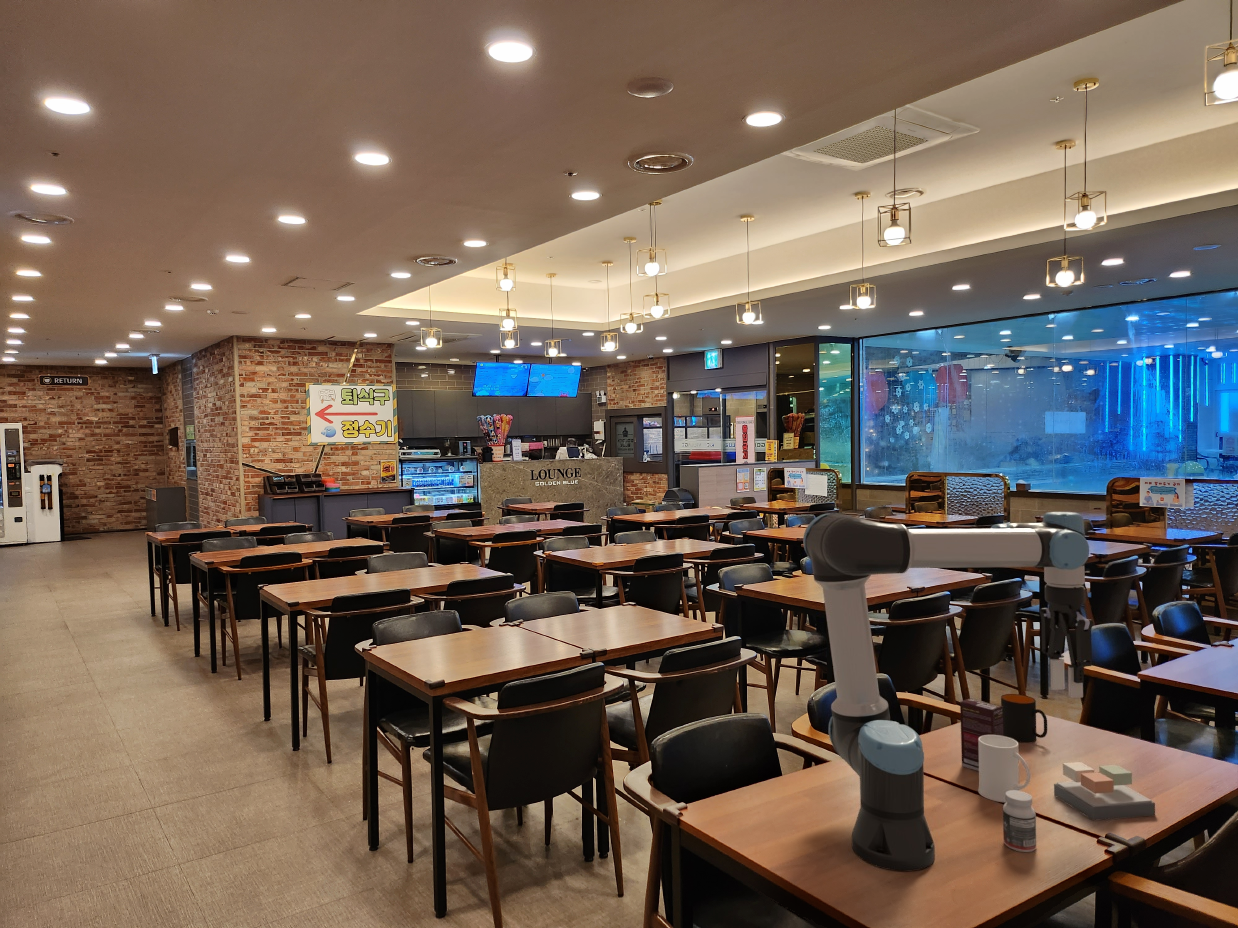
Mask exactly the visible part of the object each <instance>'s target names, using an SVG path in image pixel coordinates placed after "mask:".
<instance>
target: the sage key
mask: <svg viewBox="0 0 1238 928" xmlns="http://www.w3.org/2000/svg"><path fill="white" fill-rule="evenodd" d="M1098 769H1099V773H1101V774H1103V775H1105V776H1107V777H1109V778H1110V779H1112V780H1114V786H1117V785H1125V786H1128V785H1132V784H1133V773H1132V772H1131V771H1130V770H1128V769H1125V768H1124V767H1122V766H1120V765H1118V764H1113V765H1112V764H1111V765H1099V767H1098Z"/></svg>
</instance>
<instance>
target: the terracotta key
mask: <svg viewBox="0 0 1238 928" xmlns="http://www.w3.org/2000/svg"><path fill="white" fill-rule="evenodd" d="M1081 786H1083V787H1085V788H1087V789H1088V790H1090V791H1092V792H1093V793H1095V794H1098V793H1110V792H1114V780H1112V779H1110V778H1109V777H1107V776H1105V775H1103V774H1101V773H1099V772H1095V771H1094V773H1082V774H1081Z"/></svg>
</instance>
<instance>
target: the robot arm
mask: <svg viewBox="0 0 1238 928" xmlns="http://www.w3.org/2000/svg"><path fill="white" fill-rule="evenodd" d="M804 530H805V531H804V533H803V537H802V538H803V539H802V541H803V543H802V545H803V548H804V551H805V553H806V555H807V557H808V558H809V560H811V567H812V573H813V580H814V582H815V583H817V584H818V585H819V586H821V587H822V588H821V589H822V592H823V593H822V594H823V599H824V600H823V602H824V607H825V615H826V622H827V623H826V624H827V630H828V631H827V632H828V638H829V644H830V645H829V646H830V653H831V660H832V666H833V667H832V668H833V675H834V681H835V682H834V683H835V690H836V696H837V697H836V698H835V700H833V702H832V703H831V705H830V706H831V707H830V709H831V715H832V716H831V717H830V719H829V722H828V736H829V737H828V738H829V740H830V743H831V745H832V746H833V747H832V748H833V749H834V750H835V752H836V753H837V754H838V756H839V757H840V758H841V759H842V760H844V762H845V763H847V765H848V766H849V767H850V768H851V769H852V770H853V771H854V772H855V774H857V775H858V776H859V794H860V798H859V799H860V808H859V810H858V815H857V817H856V820H855V824H854V826H853V829H852V833H851V847H852V850H853V852H854V854H856V856H858V857H859V858H860V859H861V858H862V859H861V860H863V861H865V862H866V863H868V864H870V865H873V866H875V867H879V868H882V869H886V870H890V871H898V872H899V871H901V872H903V871H904V872H907V871H908V872H909V871H910V872H912V871H919V870H923V869H925V868H927V867H930V866H931V865H932V864H933V863H934V862H935V859H936V858H935V857H936V854H935V853H936V851H935V850H936V847H935V842H934V839H933V836H932V833H931V830H930V828H929V825H928V823H927V819H926V815H925V798H924V797H925V791H924V788H925V787H924V786H925V784H924V782H925V781H924V780H925V779H924V777H925V775H924V772H925V770H924V762H925V752H924V749H923V742H922V738H921V736H920V735H919V734H918V733H917V732H916V731H915V730H914V729H913V728H912V727H910V726H908V725H906V724H900V723H899V722H897V721H893V720H891V716H890V709H889V707H890V706H889V703H888V701H887V700H886V699H885V698H883V697H882V696H881V695H880V691H879V683H878V676H877V668H876V660H875V653H874V645H873V637H872V630H871V623H870V622H871V621H870V616H869V609H868V601H867V600H868V599H867V593H866V586H865V584H866V583H867V581H868V580H869V579H870V578H871V576H873V575H874V576H876V575H887V574H888V575H889V574H891V575H892V574H905V573H907V572H908V570H909V569H926V568H927V569H934V568H935V569H938V568H939V569H941V568H946V569H947V568H950V569H951V568H953V569H954V568H957V569H958V568H959V569H960V568H1022V567H1023V568H1043V569H1044V571H1043V573H1044V574H1043V575H1044V578H1043V580H1044V582H1045V585H1044V600H1045V602H1047V603H1049V605H1048V607H1042V608H1041V607H1040V608H1039V614H1040V620H1041V621H1040V622H1041V652H1042V654H1046V656H1047V658H1048V659H1049V660H1048V661H1049V673H1050V690H1051V691H1058V690H1060V691H1061V690H1065V688H1066V687H1065V686H1066V685H1065V679H1066V678H1065V659H1064V658H1065V656H1064V654H1063V648H1064V641H1065V638H1066V643H1067V649H1068V654H1069V660H1070V664H1068V665H1067V671H1068V673H1067V675H1068V676H1067V677H1068V679H1067V680H1068V698H1070V699H1078V698H1079V699H1080V698H1083V697H1084V681H1085V676H1084V675H1085V673H1084V672H1085V671H1084V670H1085V668H1086V667H1091V666H1093V657H1092V656H1093V654H1092V651H1093V649H1092V648H1093V647H1092V629H1093V625H1094V620H1092V619H1089V618H1086V617H1084V616H1083V615H1084V613H1083V611H1082V605H1084V604H1085V603H1086V588H1085V586H1084V584H1085V583H1086V579H1085V577H1086V575H1085V573H1086V572H1085V563H1086V562H1087V561H1088V559H1089V556H1090V546H1089V542H1088V541H1087V539H1086V537H1085V536H1086V532H1085V523H1084V518H1083V516H1082V514H1080V513H1078V512H1074V511H1073V512H1071V511H1050V512H1045V513H1044V514H1043V518H1042V521H1041V522H1011V523H1009V522H1005V523H997V524H993V525H992V526H991V527H990V528H907V526H905V525H904V524H902V523H885V522H880V521H878V522H877V521H873V520H869V519H866V518H865V519H864V518H861V517H857V516H856V517H855V516H851V515H847V514H845V513H842V512H829V513H828V512H827V513H824V514H820V515H819V516H817V517H815V518H813V520H811V521H810V523H809V524H808V525H807V527H806V529H804Z"/></svg>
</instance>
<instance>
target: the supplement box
mask: <svg viewBox="0 0 1238 928" xmlns="http://www.w3.org/2000/svg"><path fill="white" fill-rule="evenodd" d="M959 706H960V708H959V711H960V712H959V713H960V716H959V717H960V744H961V745H960V746H961V766H962V767H963V768H966V769H967V768H968V769H970V770H974V771H977V772H979V745H978V739H979V737H980V736H983V735H1000V736H1004V730H1003V706H1001V705H999V704H995V703H990V702H986V701H983V700H979V699H975V698H966V699H964V700H961V701H960V702H959Z"/></svg>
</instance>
